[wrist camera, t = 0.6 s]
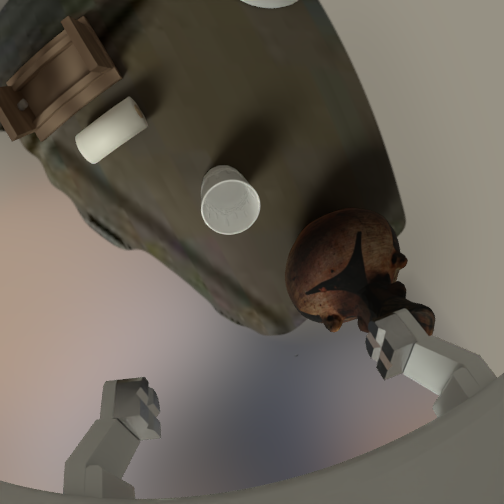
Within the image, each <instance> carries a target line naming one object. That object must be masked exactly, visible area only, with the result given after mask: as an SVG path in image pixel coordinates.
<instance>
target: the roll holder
mask: <svg viewBox="0 0 504 504" xmlns="http://www.w3.org/2000/svg"><path fill="white" fill-rule="evenodd" d="M61 23H62V25H63V27H64V29H65V30H63V31H62V32H61V33H60V34H58V35H57V36H56V37H55V38H54V39H52V40H51V41H50V42H49V43H48V44H46V45H45V46H44V47H43V48H42V49H41V50H40V51H38V52H37V53H36V54H35V55H34V56H33V57H32V58H31V59H30V60H29V61H28V62H27V63H25V64H24V65H23V66H22V67H21V68H20V69H19V70H18V71H17V72H16V73H15V74H14V75H13V76H12V77H11V78H10V80H9V81H8V82H7V85H8V86H5V87H0V122H1V124H2V125H3V127H4V129H5V130H6V132H7V134H8V135H9V137H10V139H11V140H12V141H14V140H17V139H19V138H21V137H24V136H26V135H28V134H31V133H33V132H35V133H36V135H37V136H38V138H39V139H40V141H41V142H42V141H44V140H46V139H47V138H48V137H49V136H50V135H51V134H52V133H53V132H54V131H55V130H57V129H58V128H59V127H60V126H61V125H62V124H63V123H65V122H66V121H67V120H68V119H69V118H71V117H72V116H73V115H74V114H75V113H77V112H78V111H79V110H80V109H82V108H83V107H84V106H85V105H87V104H88V103H89V102H91V101H92V100H93V99H95V98H96V97H97V96H99V95H100V94H101V93H103V92H104V91H105V90H107V89H108V88H110V87H111V86H112V85H114V84H115V83H117V82H118V81H120V80H121V79H123V77H122V76H121V74H120V73H119V71H118V69H117V68H116V66H115V64H114V63H113V61H112V59H111V58H110V56H109V55H108V53H107V51H106V50H105V48H104V46H103V45H102V43H101V41H100V40H99V38H98V36H97V35H96V33H95V31H94V30H93V28H92V27H91V25H90V23H89V22H88V20H87V18H86V17H84V16H82V17H81V18H79V19H78V20H75V19H73V18H72V17H70V16H67V17H66V18H65V19H63V20H62V21H61Z"/></svg>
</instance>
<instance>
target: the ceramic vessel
mask: <svg viewBox="0 0 504 504" xmlns="http://www.w3.org/2000/svg"><path fill="white" fill-rule="evenodd" d="M407 261H408V260H407V258H406V257H405V255H403V254H402V253H400V248H399V243H398V239H397V236H396V234H395V232H394V230H393V228H392V227H391V225H390V224H389V223H388V221H387V220H386V219H385V218H384V217H383V216H381V215H380V214H378V213H376V212H374V211H370V210H366V209H360V208H346V209H341V210H337V211H334V212H331V213H329V214H326V215H324V216H322V217H320V218H318V219H316V220H315V221H313V222H311V223H310V224H308V225H307V226H306V227H305V228H304V229H303V230H302V232H301V233H300V234H299V236H298V238H297V239H296V241H295V243H294V245H293V247H292V248H291V251H290V253H289V256H288V259H287V263H286V271H285V281H286V287H287V291H288V294H289V296H290V299H291V300H292V302H293V304H294V306H295V307H296V308H297V310H298V311H299V312H300V313H301V314H302V315H303V316H304V317H306V318H308V319H310V320H312V321H315V322H319V323H324V325H325V327H326V328H327V329H328V330H329V331H330V332H337V331H338V330H339V329H340V327H341V326H342V323H344V322H348V321H351V320H354V319H358V326H359V329H360V330H361V331H364V332H367V333H369V332H370V331H369V329H368V324H369V322H370V321H371V320H374V319H376V318H379V317H382V316H384V315H387V314H390V313H393V312H396V311H398V310H401V309H404V308H405V309H407V310H408V311H409V312H410V314H411V315H412V316H413V317H414V318H415V320H416V321H417V322H418V323H419V325H420V326H421V327H422V328H423V329H424V331H425V332H426V333H427V335H428V336H431V335H432V334H433V331H434V324H435V315H434V313H433V311H432V310H431V309H430V308H429V307H427V306H425V305H422V304H418V303H413V302H411V301H409V300H407V299H405V298H406V288H405V286H404V284H402V283H401V282H399V281H396V280H397V277H398V273H399V270H400V269H402V268H404V267H405V266H406V264H407Z"/></svg>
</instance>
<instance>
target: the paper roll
mask: <svg viewBox="0 0 504 504" xmlns="http://www.w3.org/2000/svg"><path fill="white" fill-rule="evenodd" d="M147 127H148V123H147V121H146V118H145V116H144V115H143V113H142V111H141V110H140V108H139V107H138V105H137V104H136V102H135V101H134V100H133V99H132V98H131V97H127V98H126V99H124V100H123V101H121V102H120V103H118V104H117V105H116V106H114V107H113V108H111V109H110V110H109V111H107V112H106V113H104V114H103V115H102V116H100V117H99V118H98V119H96V120H95V121H94V122H93V123H91V124H90V125H89V126H87V127H86V128H85V129H84V130H82V131H81V132H80V133H79V134H77V135H76V138H75V140H76V144H77V147H78V149H79V151H80V152H81V154H82V155H83V156H84V158H85V159H86V160H88V161H89V162H90V163H92V164H96V163H97V162H99V161H100V160H101V159H103V158H104V157H105V156H107V155H108V154H109V153H111V152H112V151H113V150H115V149H116V148H118V147H119V146H120V145H122V144H123V143H125V142H126V141H128V140H129V139H130V138H132V137H133V136H135V135H136V134H138V133H139V132H141V131H142V130H144V129H145V128H147Z"/></svg>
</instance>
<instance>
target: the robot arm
mask: <svg viewBox="0 0 504 504" xmlns="http://www.w3.org/2000/svg"><path fill="white" fill-rule="evenodd" d="M241 1H243V2H245V3H247V4H250V5H253V6H257V7H263V8H279V7H284V6H288V5H290V4H293V3H295V2H296V1H298V0H241ZM368 329H369V331H370V332H369V333H368V334H367V336H366V341H365V343H366V349H367V351H368V354H369V356H370V357H371V359H373V360H375V361H377V367H376V368H377V369H378V371H379V373H380V374H381V376H382V377H383V379H384V380H386V379H389V378H392V377H394V376H396V375H399V374H401V373H403V374H404V375H406V376H407V377H409V378H411V379H412V380H414V381H416V382H417V383H419V384H420V385H422V386H424V387H425V388H427V389H429V390H430V391H432V392H434V393H435V394H437V395H439V397H438V399H437V400H436V402H435V403H434V405H433V410H434V412H435V413H436V415H437V417H438V418H436V419H435V420H433V421H431V422H429V423H427V424H426V425H424V426H422V427H420V428H418V429H416V430H414V431H412V432H410V433H409V434H407V435H405V436H403V437H401V438H398V439H396V440H394V441H392V442H390V443H388V444H386V445H383V446H381V447H379V448H377V449H374V450H372V451H370V452H367V453H365V454H363V455H360V456H357V457H355V458H352V459H350V460H347V461H344V462H342V463H339V464H336V465H333V466H330V467H328V468H324V469H322V470H318V471H315V472H312V473H309V474H306V475H302V476H298V477H295V478H291V479H287V480H283V481H279V482H275V483H272V484H267V485H262V486H258V487H253V488H248V489H242V490H237V491H231V492H225V493H218V494H210V495H203V496H193V497H181V498H165V499H135V492H134V487H133V486H132V485H130V484H128V483H127V482H125V481H123V480H122V477H123V475H124V473H125V471H126V469H127V467H128V465H129V463H130V461H131V459H132V457H133V455H134V453H135V451H136V449H137V447H138V445H139V443H140V440H149V439H157V438H161V427H160V422H159V420H158V419H157V418H156V417H157V416H158V414H159V413H160V405H159V401H158V397H157V394H156V392H155V391H154V389H152V388H150V387H149V386H148V384H149V383H148V381H147V379H146V378H145V377H140V378H132V379H123V380H114V381H106V382H105V384H104V386H103V394H102V403H101V412H100V420H96V421H95V422H94V424H93V425H92V426H91V428H90V429H89V431H88V432H87V433H86V435H85V436H84V437H83V439H82V440H81V442H80V443H79V444H78V446H77V447H76V449H75V450H74V451H73V453H72V454H71V455H70V457H69V458H68V460H67V461H66V462H65V471H64V488H63V494H60V493H54V492H48V491H42V490H37V489H32V488H27V487H23V486H18V485H14V484H11V483H7V482H3V481H0V504H504V373H503V374H502V375H501V376H499V377H498V378H497V377H496V376H495V374H494V373H493V372H492V370H491V369H490V368H489V367H488V365H487V364H486V363H485V361H484V360H483V359H482V358H481V356H480V355H478V354H476V353H473V352H471V351H468V350H466V349H464V348H461V347H459V346H456V345H454V344H452V343H449V342H447V341H445V340H442V339H440V338H438V337H435V336H433V335H431V336H428V335H427V333H426V332H425V331H424V329H423V328H422V327H421V326H420V325H419V323H418V322H417V321H416V320H415V318H414V317H413V316H412V315H411V314H410V312H409V311H408V310H407V309H405V308H404V309H401V310H398V311H396V312H393V313H390V314H387V315H384V316H382V317H379V318H376V319H374V320H371V321H370V322H369V324H368Z"/></svg>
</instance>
